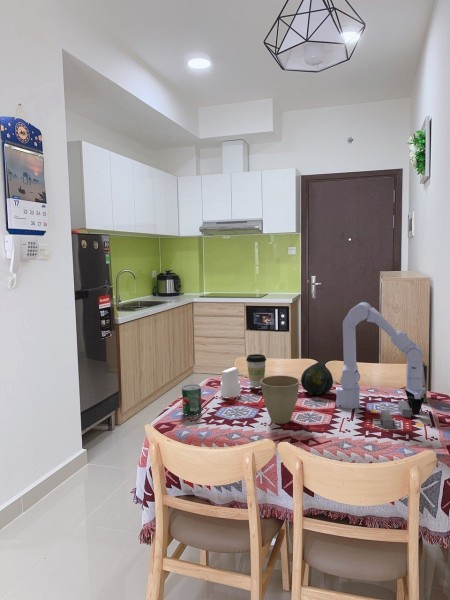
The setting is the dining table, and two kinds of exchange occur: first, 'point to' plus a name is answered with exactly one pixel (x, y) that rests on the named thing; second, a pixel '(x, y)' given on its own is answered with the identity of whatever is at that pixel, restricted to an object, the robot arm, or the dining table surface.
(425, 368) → the coffee box
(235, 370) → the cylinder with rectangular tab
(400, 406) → the slider back
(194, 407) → the canned tomato
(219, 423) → the dining table surface
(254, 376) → the coffee cup
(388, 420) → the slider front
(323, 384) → the squash
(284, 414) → the plant pot
